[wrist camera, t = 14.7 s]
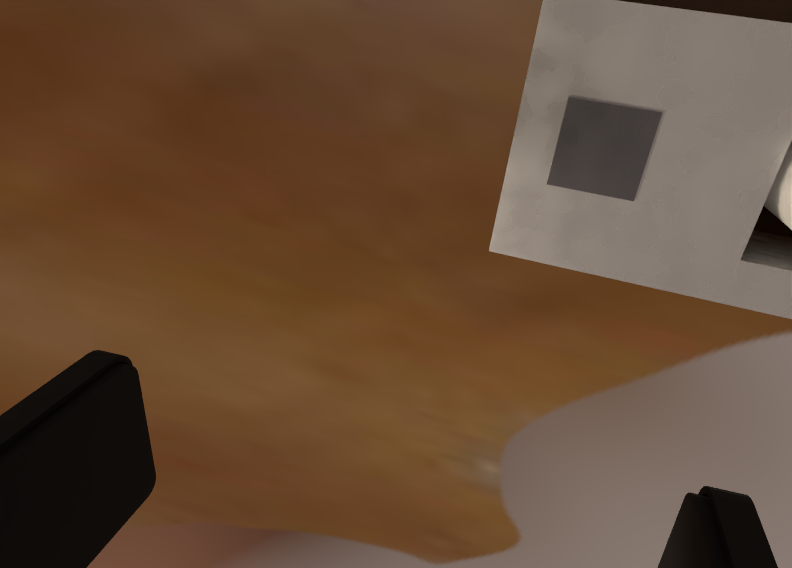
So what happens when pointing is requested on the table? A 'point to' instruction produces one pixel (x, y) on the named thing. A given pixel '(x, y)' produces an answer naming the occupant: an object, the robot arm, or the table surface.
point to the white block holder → (653, 150)
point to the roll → (782, 191)
